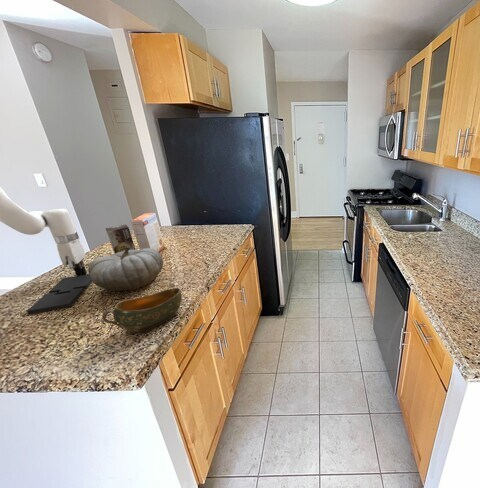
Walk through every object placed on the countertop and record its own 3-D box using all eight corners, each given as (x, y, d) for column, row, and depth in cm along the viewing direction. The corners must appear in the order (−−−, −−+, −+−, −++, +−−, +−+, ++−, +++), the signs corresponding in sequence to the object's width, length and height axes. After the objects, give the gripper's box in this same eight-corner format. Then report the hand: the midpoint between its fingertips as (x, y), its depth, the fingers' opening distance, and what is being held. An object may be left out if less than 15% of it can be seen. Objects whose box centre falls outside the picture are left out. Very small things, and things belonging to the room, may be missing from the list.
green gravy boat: (122, 317, 91) (113, 292, 87) (185, 305, 98) (180, 281, 94) (109, 342, 80) (98, 315, 76) (181, 326, 86) (174, 301, 83)
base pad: (28, 314, 93) (26, 310, 92) (47, 296, 103) (45, 293, 103) (70, 306, 97) (69, 303, 96) (84, 290, 107) (83, 287, 107)
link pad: (46, 297, 103) (45, 294, 102) (64, 280, 115) (63, 277, 114) (84, 291, 107) (83, 288, 106) (97, 275, 119) (96, 272, 118)
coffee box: (135, 251, 145) (126, 224, 139) (137, 255, 140) (129, 226, 134) (114, 256, 139) (105, 227, 133) (116, 260, 134) (106, 230, 128)
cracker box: (154, 248, 149) (144, 212, 141) (165, 247, 150) (156, 212, 142) (141, 258, 136) (129, 220, 128) (153, 257, 137) (142, 219, 129)
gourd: (150, 292, 101) (132, 250, 96) (83, 307, 99) (61, 266, 94) (176, 268, 125) (163, 234, 120) (123, 280, 123) (107, 246, 118)
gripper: (63, 233, 116) (79, 269, 123) (45, 245, 103) (63, 285, 110) (84, 231, 119) (98, 266, 126) (69, 242, 106) (85, 281, 113)
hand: (82, 275), depth 118 cm, fingers closed
